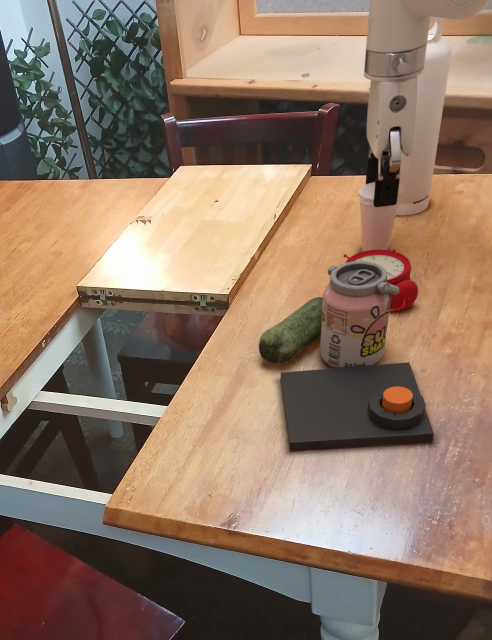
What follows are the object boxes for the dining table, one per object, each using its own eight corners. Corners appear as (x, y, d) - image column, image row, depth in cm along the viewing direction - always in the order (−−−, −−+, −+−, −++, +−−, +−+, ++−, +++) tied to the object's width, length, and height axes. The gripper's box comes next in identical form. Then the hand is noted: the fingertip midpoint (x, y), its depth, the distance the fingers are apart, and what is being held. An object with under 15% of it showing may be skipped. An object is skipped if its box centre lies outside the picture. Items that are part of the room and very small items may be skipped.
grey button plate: (408, 370, 93) (411, 351, 91) (432, 442, 84) (436, 422, 82) (280, 380, 96) (280, 361, 94) (289, 451, 87) (289, 432, 84)
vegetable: (282, 376, 97) (282, 344, 93) (251, 363, 100) (250, 331, 96) (344, 326, 102) (347, 294, 99) (313, 316, 105) (315, 284, 102)
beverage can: (349, 328, 102) (356, 247, 93) (402, 349, 97) (415, 265, 88) (306, 359, 99) (309, 278, 90) (358, 382, 93) (366, 298, 85)
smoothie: (385, 238, 118) (395, 147, 108) (403, 255, 113) (415, 162, 103) (346, 247, 118) (353, 157, 108) (363, 264, 113) (371, 172, 103)
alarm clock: (405, 242, 108) (431, 270, 96) (402, 284, 112) (427, 316, 99) (333, 250, 110) (349, 279, 98) (332, 292, 114) (348, 324, 101)
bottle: (427, 192, 126) (455, 1, 106) (430, 214, 121) (460, 16, 101) (377, 195, 128) (396, 8, 108) (378, 216, 123) (398, 23, 103)
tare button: (408, 395, 86) (409, 385, 85) (413, 412, 84) (415, 402, 83) (379, 398, 87) (381, 387, 86) (384, 414, 85) (385, 404, 83)
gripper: (439, 76, 90) (419, 218, 102) (411, 37, 102) (396, 168, 114) (375, 85, 91) (363, 224, 104) (355, 46, 103) (346, 174, 116)
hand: (380, 194), depth 109 cm, fingers closed on smoothie, 6 cm apart
